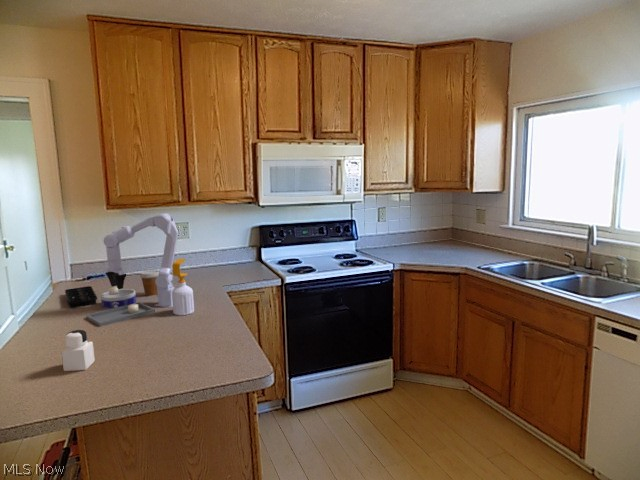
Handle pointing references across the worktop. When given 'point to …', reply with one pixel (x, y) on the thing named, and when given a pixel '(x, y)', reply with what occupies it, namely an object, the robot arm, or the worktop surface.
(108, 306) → the dog bowl
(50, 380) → the worktop surface
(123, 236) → the robot arm
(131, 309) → the pebble
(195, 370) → the worktop surface
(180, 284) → the soap bottle
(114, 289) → the pebble
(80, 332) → the medicine bottle
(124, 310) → the parts tray
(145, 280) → the disposable coffee cup
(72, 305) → the egg carton
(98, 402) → the worktop surface
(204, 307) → the worktop surface
